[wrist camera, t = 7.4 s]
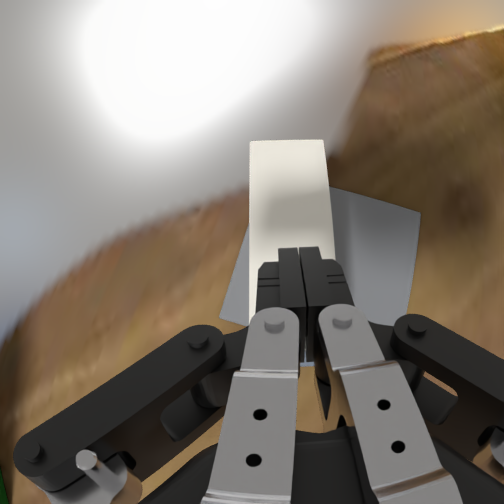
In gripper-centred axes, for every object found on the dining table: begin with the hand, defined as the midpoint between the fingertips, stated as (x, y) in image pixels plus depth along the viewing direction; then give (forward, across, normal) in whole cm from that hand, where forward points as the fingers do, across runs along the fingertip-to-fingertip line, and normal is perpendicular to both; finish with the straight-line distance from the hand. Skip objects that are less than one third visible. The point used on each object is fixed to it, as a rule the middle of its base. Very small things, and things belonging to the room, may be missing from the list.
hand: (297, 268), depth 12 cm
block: (+2, 0, +8) cm, 8 cm away
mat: (+8, -3, +5) cm, 10 cm away
